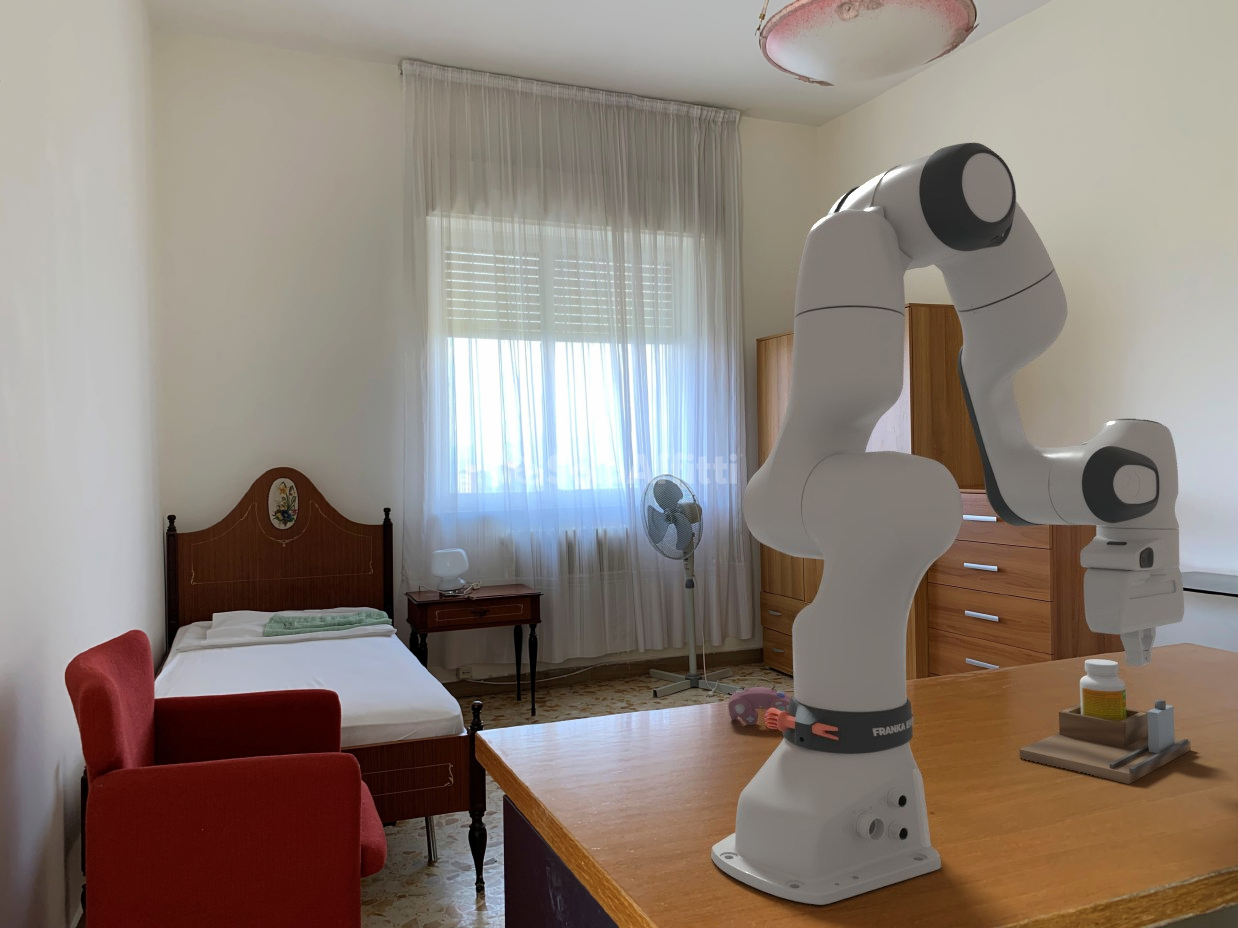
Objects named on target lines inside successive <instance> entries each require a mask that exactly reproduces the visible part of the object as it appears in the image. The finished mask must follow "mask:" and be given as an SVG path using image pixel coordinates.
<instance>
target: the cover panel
mask: <svg viewBox="0 0 1238 928" xmlns="http://www.w3.org/2000/svg"><path fill="white" fill-rule="evenodd" d="M1166 702H1167V701H1166V700H1164V699H1154V708H1151V709H1150V710H1147V711H1146V712H1147V722H1148V748H1149V752H1153V753H1159V752H1161V751H1163V750H1165V749H1167V748H1168V747H1170V746H1172V745H1174V744H1175V738H1176V737H1175V716H1174V705H1171V704H1170V705H1168V704H1167V703H1166Z"/></svg>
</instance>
